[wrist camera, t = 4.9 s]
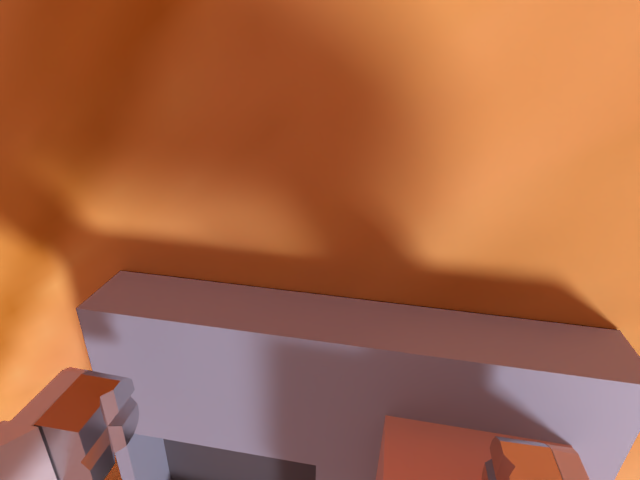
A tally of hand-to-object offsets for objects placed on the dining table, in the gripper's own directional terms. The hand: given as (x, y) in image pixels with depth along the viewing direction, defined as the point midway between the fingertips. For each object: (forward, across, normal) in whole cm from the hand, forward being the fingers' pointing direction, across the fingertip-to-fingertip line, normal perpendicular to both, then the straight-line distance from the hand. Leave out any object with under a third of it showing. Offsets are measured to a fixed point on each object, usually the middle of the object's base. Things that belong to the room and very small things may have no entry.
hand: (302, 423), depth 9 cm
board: (+3, -1, +14) cm, 14 cm away
